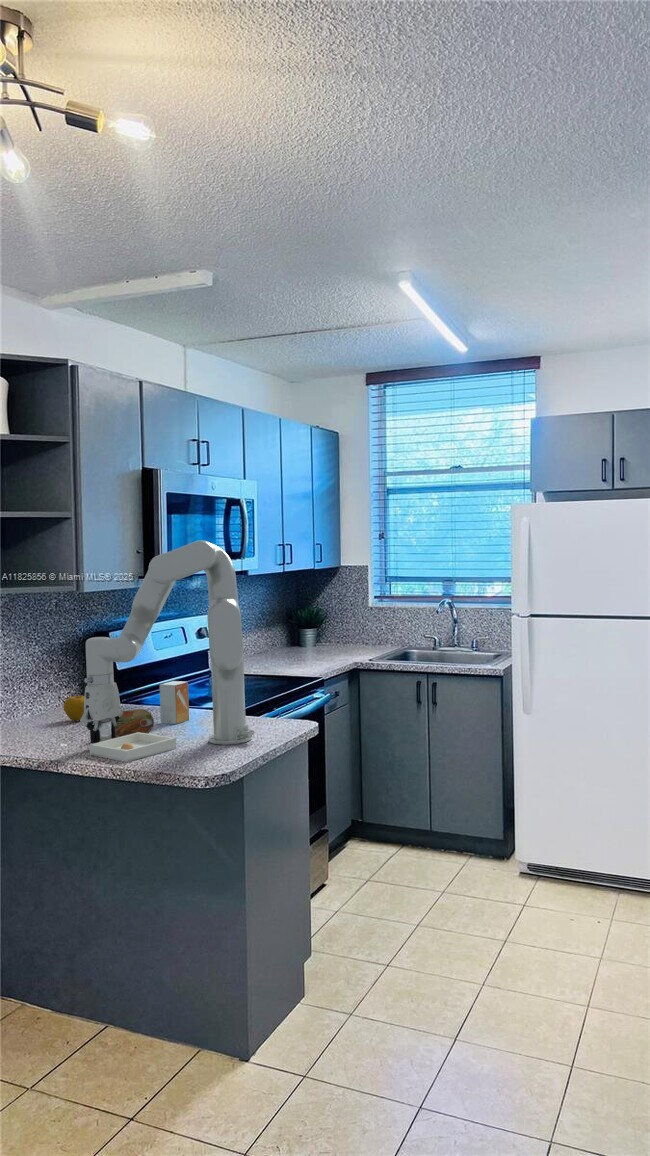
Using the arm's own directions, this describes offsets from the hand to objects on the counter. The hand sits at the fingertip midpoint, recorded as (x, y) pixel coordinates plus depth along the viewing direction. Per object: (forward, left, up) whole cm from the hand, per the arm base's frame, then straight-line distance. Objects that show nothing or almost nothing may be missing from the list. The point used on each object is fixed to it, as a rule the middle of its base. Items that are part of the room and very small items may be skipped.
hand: (103, 741), depth 245 cm
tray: (-12, -1, -2) cm, 12 cm away
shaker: (0, 0, -2) cm, 2 cm away
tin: (+5, -14, -2) cm, 15 cm away
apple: (+41, -22, -2) cm, 47 cm away
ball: (-17, +5, 0) cm, 17 cm away
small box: (+9, -37, -2) cm, 38 cm away
